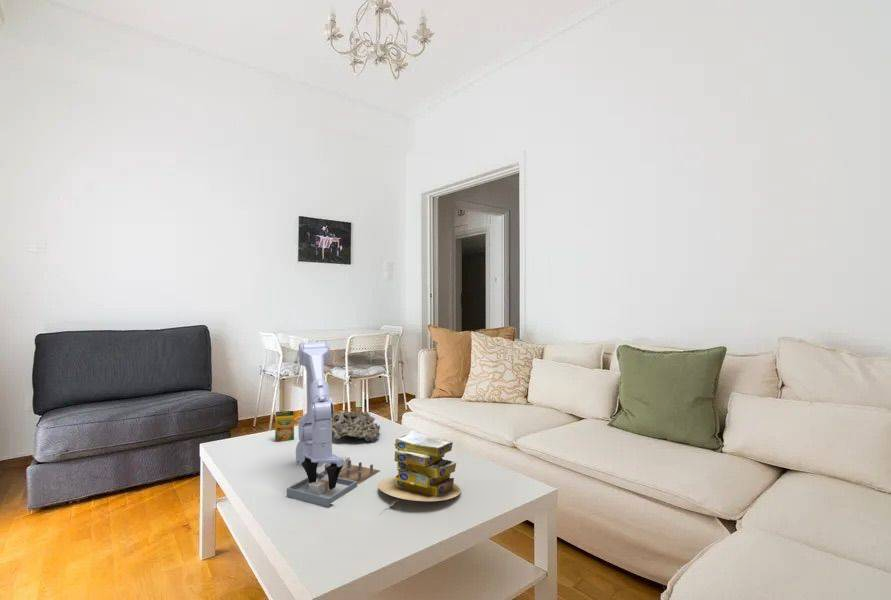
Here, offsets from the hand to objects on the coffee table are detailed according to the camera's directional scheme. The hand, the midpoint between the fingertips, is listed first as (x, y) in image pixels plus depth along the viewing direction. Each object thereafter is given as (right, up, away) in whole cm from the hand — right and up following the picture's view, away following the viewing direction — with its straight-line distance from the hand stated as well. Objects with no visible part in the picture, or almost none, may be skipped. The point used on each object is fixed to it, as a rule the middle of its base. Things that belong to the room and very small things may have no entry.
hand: (322, 485), depth 136 cm
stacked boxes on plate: (+29, -3, 0) cm, 29 cm away
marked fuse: (0, -2, 0) cm, 2 cm away
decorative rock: (-2, -2, +56) cm, 56 cm away
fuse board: (+5, -2, +13) cm, 14 cm away
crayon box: (-29, -2, +50) cm, 58 cm away
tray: (0, -2, 0) cm, 2 cm away
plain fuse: (+1, -1, +15) cm, 15 cm away
